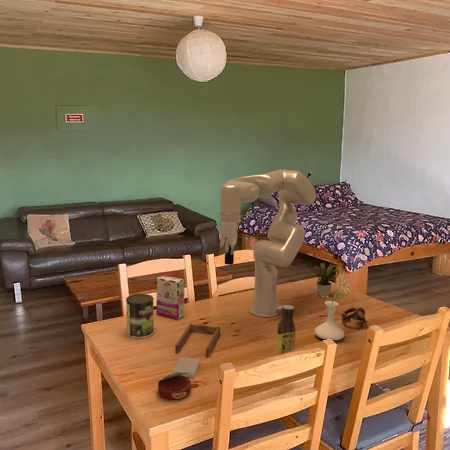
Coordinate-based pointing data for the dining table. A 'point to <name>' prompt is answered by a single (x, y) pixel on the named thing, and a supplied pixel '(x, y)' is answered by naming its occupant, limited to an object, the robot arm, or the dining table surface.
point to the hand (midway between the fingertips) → (229, 263)
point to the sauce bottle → (285, 331)
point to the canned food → (174, 387)
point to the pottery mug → (354, 316)
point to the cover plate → (187, 366)
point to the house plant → (325, 280)
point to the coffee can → (139, 316)
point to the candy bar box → (170, 297)
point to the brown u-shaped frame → (199, 329)
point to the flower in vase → (330, 327)
